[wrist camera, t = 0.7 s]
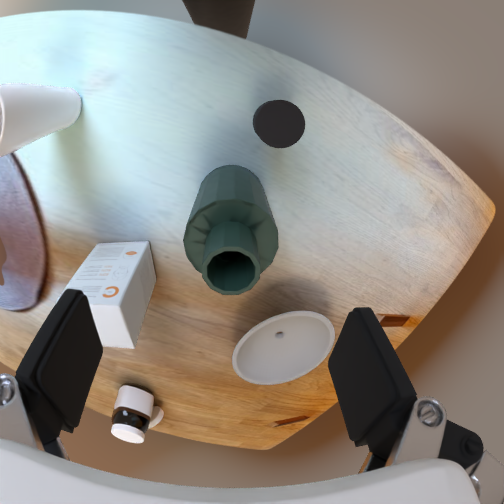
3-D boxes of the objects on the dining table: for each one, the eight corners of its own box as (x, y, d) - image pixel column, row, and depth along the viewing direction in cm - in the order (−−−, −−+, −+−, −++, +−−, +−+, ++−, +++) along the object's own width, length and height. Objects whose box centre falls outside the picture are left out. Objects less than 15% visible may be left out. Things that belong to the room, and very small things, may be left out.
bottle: (187, 184, 32) (154, 253, 18) (245, 153, 30) (256, 199, 17) (219, 234, 35) (212, 326, 21) (273, 208, 34) (302, 288, 20)
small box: (107, 280, 38) (74, 344, 26) (96, 242, 34) (53, 301, 23) (158, 280, 38) (135, 350, 27) (150, 239, 35) (118, 304, 24)
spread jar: (126, 374, 49) (114, 422, 39) (175, 394, 53) (170, 441, 43) (113, 396, 54) (103, 437, 43) (157, 413, 57) (151, 454, 47)
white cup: (85, 134, 27) (4, 165, 14) (44, 133, 26) (-37, 164, 13) (92, 80, 24) (9, 79, 11) (49, 83, 23) (-35, 91, 10)
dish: (283, 370, 50) (287, 391, 46) (214, 349, 46) (213, 372, 41) (346, 307, 43) (356, 329, 39) (271, 273, 39) (276, 296, 34)
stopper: (243, 111, 28) (246, 112, 22) (279, 94, 27) (292, 92, 21) (261, 145, 30) (268, 156, 24) (296, 129, 29) (313, 136, 23)
